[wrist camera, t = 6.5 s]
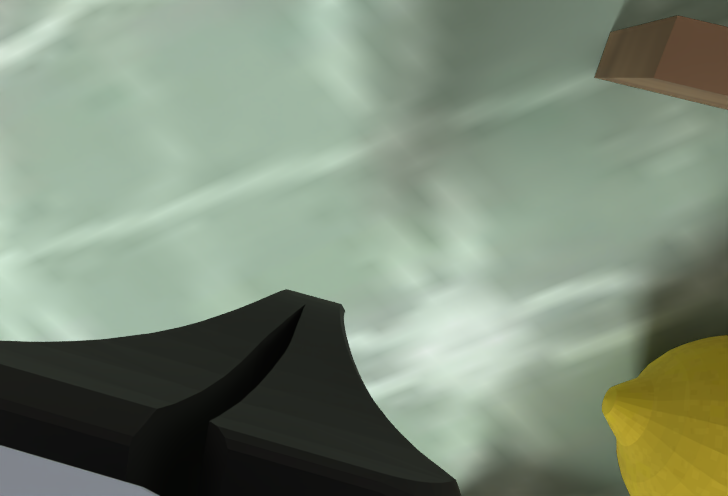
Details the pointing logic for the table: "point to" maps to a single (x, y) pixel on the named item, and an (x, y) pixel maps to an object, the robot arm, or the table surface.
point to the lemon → (674, 422)
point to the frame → (670, 59)
